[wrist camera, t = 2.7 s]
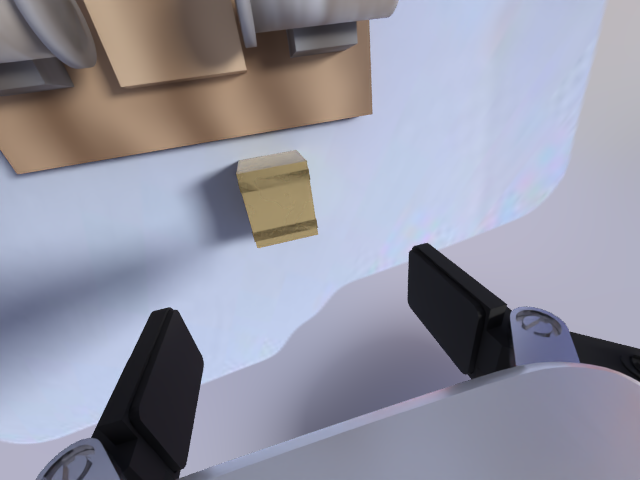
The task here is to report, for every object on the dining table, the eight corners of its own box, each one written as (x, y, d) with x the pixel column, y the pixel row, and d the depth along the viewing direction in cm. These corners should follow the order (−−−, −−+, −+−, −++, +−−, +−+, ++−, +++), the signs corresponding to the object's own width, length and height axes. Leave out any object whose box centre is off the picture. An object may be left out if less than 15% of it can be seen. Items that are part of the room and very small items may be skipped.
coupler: (238, 160, 23) (235, 174, 18) (296, 149, 23) (307, 160, 19) (255, 223, 26) (256, 248, 21) (307, 212, 26) (318, 234, 22)
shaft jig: (353, -135, 16) (428, -307, 10) (365, 113, 23) (413, 117, 16) (-154, -118, 13) (-622, -372, 6) (33, 169, 20) (-84, 205, 13)
